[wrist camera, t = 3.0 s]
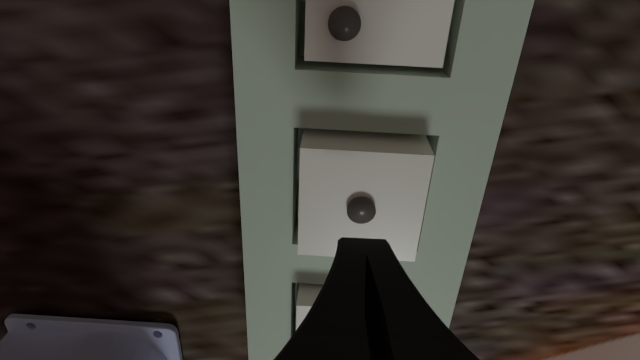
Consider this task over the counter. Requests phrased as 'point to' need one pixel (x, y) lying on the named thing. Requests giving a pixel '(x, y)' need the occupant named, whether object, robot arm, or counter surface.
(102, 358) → the robot arm
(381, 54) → the tile two pips
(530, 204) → the counter surface
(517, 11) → the button board
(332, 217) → the tile one pip
